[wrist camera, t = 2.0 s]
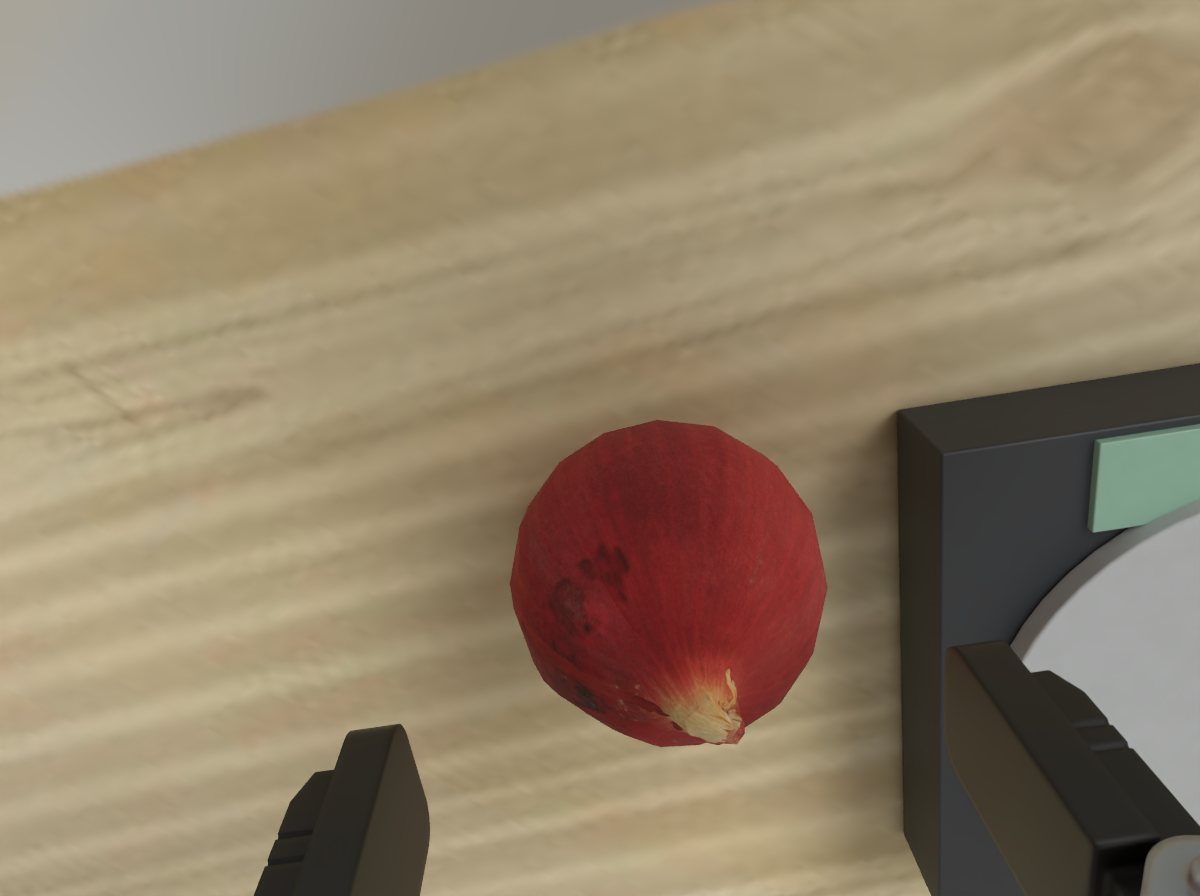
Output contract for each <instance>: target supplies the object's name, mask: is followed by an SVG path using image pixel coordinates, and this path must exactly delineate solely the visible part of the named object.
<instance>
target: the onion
mask: <svg viewBox="0 0 1200 896" xmlns="http://www.w3.org/2000/svg"><path fill="white" fill-rule="evenodd" d="M510 587H511V593H512V599H513V606H514V610H515V613H516V616H517V618H518V621H519V624H520V627H521V629H522V632H523V635H524V637H525V640H526V643H527V646H528V648H529V651H530V654H531V657H532V659H533V662H534V664H535V665H536V667H537V669H538V671H539V673H540V675H541V676H542V678H543V680H544V681H545V682H546V683H547V684H548V685H549V686H550V687H551V688H552V689H553V690H554V691H556V692H557V693H558V694H559V695H560V696H562V697H563V698H565V699H566V700H568V701H569V702H571V703H572V704H574V705H575V706H577V707H579V708H580V709H582V710H583V711H584V712H586V713H587V714H589V715H590V716H592V717H594V718H595V719H597V720H598V721H600V722H602V723H603V724H605V725H607V726H608V727H610V728H611V729H613V730H616V731H618V732H620V733H622V734H624V735H627V736H630V737H632V738H635V739H638V740H641V741H643V742H646V743H649V744H652V745H656V746H660V747H667V746H686V745H700V744H703V743H711V744H715V745H720V744H723V743H725V744H737V743H738V742H739V741H740V739H741V738H742V736H743V735H744V734H745V727H746V726H748V725H749V724H751V723H752V722H754V721H755V720H757V719H759V718H760V717H762V716H763V715H765V714H766V713H768V712H769V711H771V710H772V709H774V708H775V707H776V706H778V705H779V704H780V703H781V702H782V700H783V699H784V697H785V696H786V694H787V693H788V691H789V690H790V688H791V687H792V685H793V684H794V682H795V681H796V679H797V678H798V676H799V675H800V673H801V672H802V670H803V669H804V668H805V666H806V664H807V663H808V661H809V659H810V657H811V656H812V654H813V651H814V647H815V642H816V638H817V633H818V628H819V624H820V619H821V615H822V610H823V605H824V601H825V596H826V591H827V583H826V578H825V573H824V568H823V563H822V558H821V554H820V549H819V544H818V540H817V535H816V530H815V526H814V521H813V516H812V513H811V512H810V510H809V509H808V508H807V506H806V505H805V504H804V502H803V501H802V499H801V498H800V497H799V495H798V494H797V493H796V491H795V490H794V488H793V487H792V486H791V484H790V483H789V482H788V480H787V479H786V477H785V476H784V475H783V473H782V472H781V471H780V469H779V468H778V466H776V465H775V464H774V463H773V462H772V461H770V460H769V459H768V458H767V457H765V456H764V455H763V454H761V453H759V452H757V451H756V450H754V449H752V448H750V447H749V446H747V445H745V444H744V443H742V442H740V441H738V440H737V439H735V438H733V437H732V436H730V435H728V434H726V433H725V432H723V431H721V430H719V429H718V428H716V427H714V426H705V425H696V424H687V423H678V422H669V421H660V420H656V421H652V422H648V423H644V424H640V425H636V426H631V427H627V428H623V429H619V430H615V431H611V432H607V433H604V434H602V435H601V436H599V437H598V438H596V439H595V440H593V441H591V442H590V443H588V444H587V445H585V446H584V447H582V448H581V449H579V450H578V451H576V452H575V453H573V454H572V455H570V456H569V457H567V458H566V459H564V460H563V461H561V462H559V464H558V465H557V466H556V468H555V469H554V471H553V472H552V474H551V475H550V476H549V478H548V479H547V481H546V482H545V484H544V485H543V486H542V488H541V489H540V491H539V492H538V493H537V495H536V496H535V498H534V499H533V501H532V502H531V503H530V505H529V506H528V508H527V511H526V513H525V516H524V518H523V520H522V523H521V525H520V528H519V534H518V539H517V545H516V551H515V557H514V563H513V569H512V575H511V581H510Z"/></svg>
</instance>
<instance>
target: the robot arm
mask: <svg viewBox="0 0 1200 896" xmlns="http://www.w3.org/2000/svg"><path fill="white" fill-rule="evenodd" d="M944 735H945V742H946V747H947V751H948V755H949V758H950V761H951V764H952V766H953V769H954V771H955V773H956V775H957V777H958V779H959V781H960V782H961V784H962V786H963V788H964V789H965V791H966V793H967V795H968V796H969V798H970V800H971V802H972V803H973V805H974V807H975V809H976V811H977V812H978V814H979V816H980V818H981V819H982V821H983V823H984V825H985V826H986V828H987V830H988V832H989V833H990V835H991V837H992V839H993V840H994V842H995V844H996V846H997V848H998V849H999V851H1000V853H1001V855H1002V856H1003V858H1004V860H1005V862H1006V863H1007V865H1008V867H1009V869H1010V870H1011V872H1012V874H1013V876H1014V877H1015V879H1016V881H1017V883H1018V885H1019V886H1020V888H1021V890H1022V892H1023V893H1024V895H1025V896H1200V826H1199V824H1198V823H1197V822H1196V821H1195V820H1194V819H1193V817H1192V816H1191V815H1190V814H1189V813H1188V812H1187V810H1186V809H1185V808H1184V807H1183V806H1182V805H1181V804H1180V802H1179V801H1178V800H1177V799H1176V798H1175V797H1174V795H1173V794H1172V793H1171V792H1170V791H1169V790H1168V788H1167V787H1166V786H1165V785H1164V784H1163V783H1162V781H1161V780H1160V779H1159V778H1158V777H1157V776H1156V774H1155V773H1154V772H1153V771H1152V770H1151V769H1150V767H1149V766H1148V765H1147V764H1146V763H1145V762H1144V760H1143V759H1142V758H1141V757H1140V756H1139V755H1138V753H1137V752H1136V751H1135V750H1134V749H1133V748H1129V746H1128V742H1127V741H1126V740H1125V738H1124V737H1123V736H1122V735H1121V734H1120V733H1119V731H1118V730H1117V729H1116V728H1115V727H1114V726H1113V725H1110V724H1109V722H1108V719H1107V717H1106V716H1105V715H1104V714H1103V713H1102V712H1101V710H1100V709H1099V708H1098V707H1097V706H1096V705H1095V703H1094V702H1093V701H1092V700H1091V699H1090V698H1089V696H1088V695H1087V694H1086V693H1085V692H1084V691H1082V690H1081V689H1079V688H1078V687H1076V686H1074V685H1073V684H1071V683H1070V682H1068V681H1066V680H1065V679H1063V678H1061V677H1060V676H1058V675H1057V674H1055V673H1053V672H1052V671H1050V670H1046V671H1039V672H1032V673H1031V672H1030V671H1029V670H1028V669H1027V667H1026V666H1025V665H1024V664H1023V662H1022V661H1021V660H1020V658H1019V657H1018V656H1017V655H1016V653H1015V652H1014V651H1013V650H1012V648H1011V647H1010V646H1009V645H1008V644H1007V643H1006V642H1005V641H1003V640H994V641H987V642H980V643H973V644H966V645H959V646H952V647H949V648H948V649H947V651H946V654H945V686H944ZM429 838H430V822H429V812H428V805H427V801H426V797H425V794H424V790H423V787H422V784H421V780H420V777H419V774H418V770H417V767H416V764H415V760H414V757H413V754H412V750H411V747H410V744H409V740H408V737H407V734H406V731H405V729H404V728H403V726H402V725H401V724H395V725H388V726H381V727H374V728H367V729H360V730H353V731H350V732H349V733H348V734H347V735H346V737H345V740H344V743H343V746H342V749H341V751H340V754H339V757H338V760H337V763H336V766H335V769H334V770H329V771H322V772H315V773H314V774H313V775H312V777H311V778H310V779H309V780H308V781H307V783H306V784H305V785H304V786H303V787H302V789H301V790H300V791H299V792H298V793H297V795H296V796H295V797H294V798H293V799H292V800H291V802H290V804H289V807H288V809H287V812H286V814H285V817H284V819H283V822H282V824H281V827H280V830H279V832H278V840H275V842H274V845H273V848H272V850H271V853H270V855H269V858H268V866H266V867H265V868H264V871H263V873H262V876H261V878H260V881H259V883H258V886H257V889H256V891H255V894H254V896H420V891H421V886H422V880H423V875H424V869H425V864H426V859H427V853H428V847H429Z"/></svg>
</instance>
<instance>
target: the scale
mask: <svg viewBox="0 0 1200 896" xmlns="http://www.w3.org/2000/svg"><path fill="white" fill-rule="evenodd" d="M897 415H898V475H899V535H900V595H901V655H902V715H903V776H904V835H905V838H906V840H907V842H908V844H909V847H910V849H911V851H912V853H913V856H914V858H915V860H916V862H917V865H918V867H919V869H920V871H921V874H922V876H923V878H924V880H925V883H926V885H927V887H928V889H929V892H930V894H931V896H1025V895H1024V893H1023V892H1022V890H1021V888H1020V886H1019V885H1018V883H1017V881H1016V879H1015V877H1014V876H1013V874H1012V872H1011V870H1010V869H1009V867H1008V865H1007V863H1006V862H1005V860H1004V858H1003V856H1002V855H1001V853H1000V851H999V849H998V848H997V846H996V844H995V842H994V840H993V839H992V837H991V835H990V833H989V832H988V830H987V828H986V826H985V825H984V823H983V821H982V819H981V818H980V816H979V814H978V812H977V811H976V809H975V807H974V805H973V803H972V802H971V800H970V798H969V796H968V795H967V793H966V791H965V789H964V788H963V786H962V784H961V782H960V781H959V779H958V777H957V775H956V773H955V771H954V769H953V766H952V764H951V761H950V758H949V755H948V751H947V747H946V742H945V735H944V686H945V654H946V651H947V649H948V648H949V647H952V646H959V645H966V644H973V643H980V642H987V641H994V640H1003V641H1005V642H1006V643H1007V644H1008V645H1009V646H1010V647H1011V648H1012V650H1013V651H1014V652H1015V653H1016V655H1017V656H1018V657H1019V658H1020V660H1021V661H1022V662H1023V664H1024V665H1025V666H1026V667H1027V669H1028V670H1029V671H1030V672H1031V673H1032V672H1039V671H1046V670H1050V671H1052V672H1053V673H1055V674H1057V675H1058V676H1060V677H1061V678H1063V679H1065V680H1066V681H1068V682H1070V683H1071V684H1073V685H1074V686H1076V687H1078V688H1079V689H1081V690H1082V691H1084V692H1085V693H1086V694H1087V695H1088V696H1089V698H1090V699H1091V700H1092V701H1093V702H1094V703H1095V705H1096V706H1097V707H1098V708H1099V709H1100V710H1101V712H1102V713H1103V714H1104V715H1105V716H1106V717H1107V719H1108V722H1109V724H1110V725H1113V726H1114V727H1115V728H1116V729H1117V730H1118V731H1119V733H1120V734H1121V735H1122V736H1123V737H1124V738H1125V740H1126V741H1127V742H1128V746H1129V748H1133V749H1134V750H1135V751H1136V752H1137V753H1138V755H1139V756H1140V757H1141V758H1142V759H1143V760H1144V762H1145V763H1146V764H1147V765H1148V766H1149V767H1150V769H1151V770H1152V771H1153V772H1154V773H1155V774H1156V776H1157V777H1158V778H1159V779H1160V780H1161V781H1162V783H1163V784H1164V785H1165V786H1166V787H1167V788H1168V790H1169V791H1170V792H1171V793H1172V794H1173V795H1174V797H1175V798H1176V799H1177V800H1178V801H1179V802H1180V804H1181V805H1182V806H1183V807H1184V808H1185V809H1186V810H1187V812H1188V813H1189V814H1190V815H1191V816H1192V817H1193V819H1194V820H1195V821H1196V822H1197V823H1198V824H1199V826H1200V364H1194V365H1187V366H1181V367H1174V368H1168V369H1161V370H1155V371H1148V372H1142V373H1135V374H1129V375H1122V376H1116V377H1109V378H1103V379H1097V380H1090V381H1084V382H1077V383H1071V384H1064V385H1058V386H1051V387H1045V388H1038V389H1032V390H1025V391H1019V392H1012V393H1006V394H999V395H993V396H986V397H980V398H973V399H967V400H960V401H954V402H947V403H941V404H934V405H928V406H921V407H915V408H908V409H902V410H898V413H897Z"/></svg>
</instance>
